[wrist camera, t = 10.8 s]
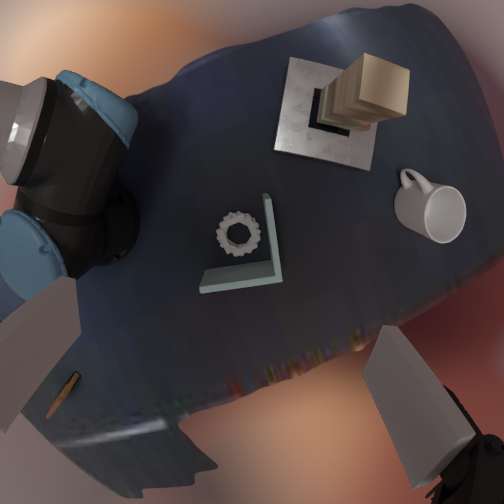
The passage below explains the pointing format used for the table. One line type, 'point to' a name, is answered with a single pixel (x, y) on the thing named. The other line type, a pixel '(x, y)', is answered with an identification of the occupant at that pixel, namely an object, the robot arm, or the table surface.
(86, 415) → the table surface
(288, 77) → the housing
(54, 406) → the ammunition clip
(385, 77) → the column
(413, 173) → the mug
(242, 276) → the right angle wall
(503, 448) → the robot arm
